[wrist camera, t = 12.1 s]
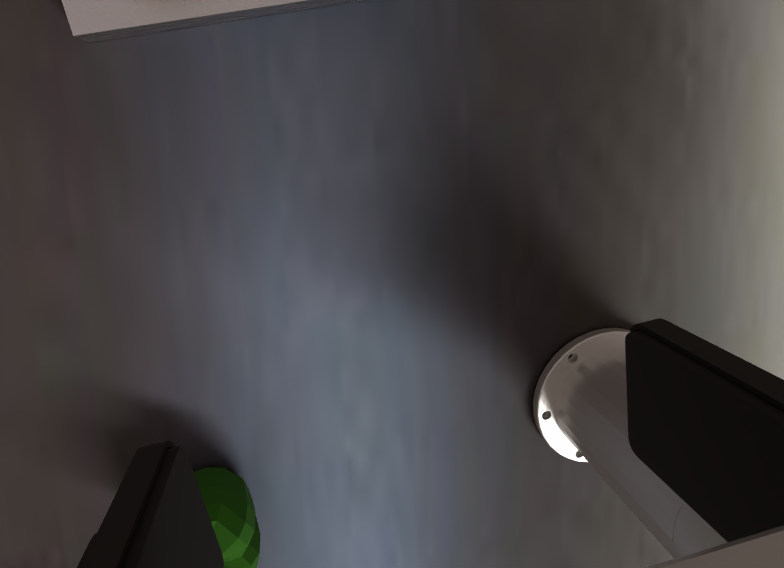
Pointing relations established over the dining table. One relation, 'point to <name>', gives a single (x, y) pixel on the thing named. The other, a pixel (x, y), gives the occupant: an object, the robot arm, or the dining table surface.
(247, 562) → the bell pepper
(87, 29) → the rail
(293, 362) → the dining table surface
